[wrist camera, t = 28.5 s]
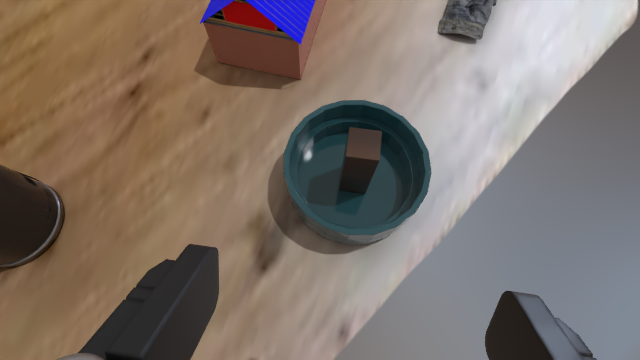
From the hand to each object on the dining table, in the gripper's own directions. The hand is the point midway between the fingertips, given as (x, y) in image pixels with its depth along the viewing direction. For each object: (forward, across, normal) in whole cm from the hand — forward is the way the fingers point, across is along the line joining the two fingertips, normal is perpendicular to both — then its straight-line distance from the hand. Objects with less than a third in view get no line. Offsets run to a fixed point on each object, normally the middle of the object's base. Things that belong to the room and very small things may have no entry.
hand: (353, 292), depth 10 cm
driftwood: (+52, -17, -14) cm, 57 cm away
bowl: (+29, -1, +9) cm, 30 cm away
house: (+45, +12, -7) cm, 47 cm away
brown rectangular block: (+28, -1, +8) cm, 29 cm away
